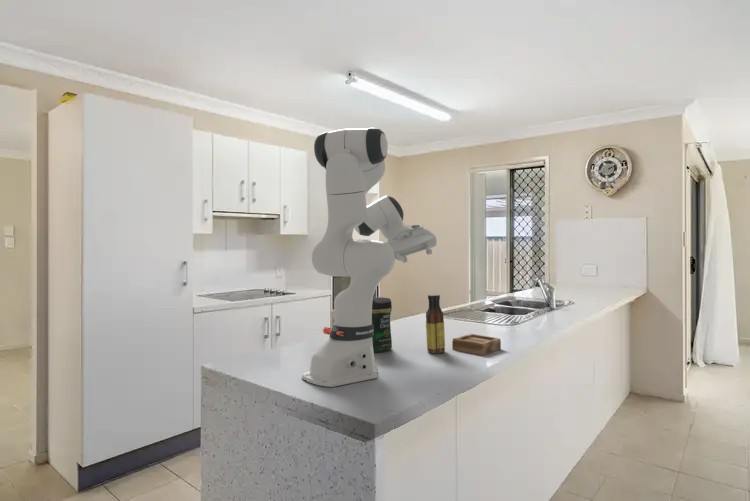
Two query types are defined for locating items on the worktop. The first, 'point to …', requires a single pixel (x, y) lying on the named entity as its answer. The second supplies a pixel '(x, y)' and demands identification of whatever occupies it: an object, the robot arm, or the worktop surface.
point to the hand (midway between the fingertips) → (417, 256)
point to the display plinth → (476, 344)
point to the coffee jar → (381, 324)
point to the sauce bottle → (435, 325)
